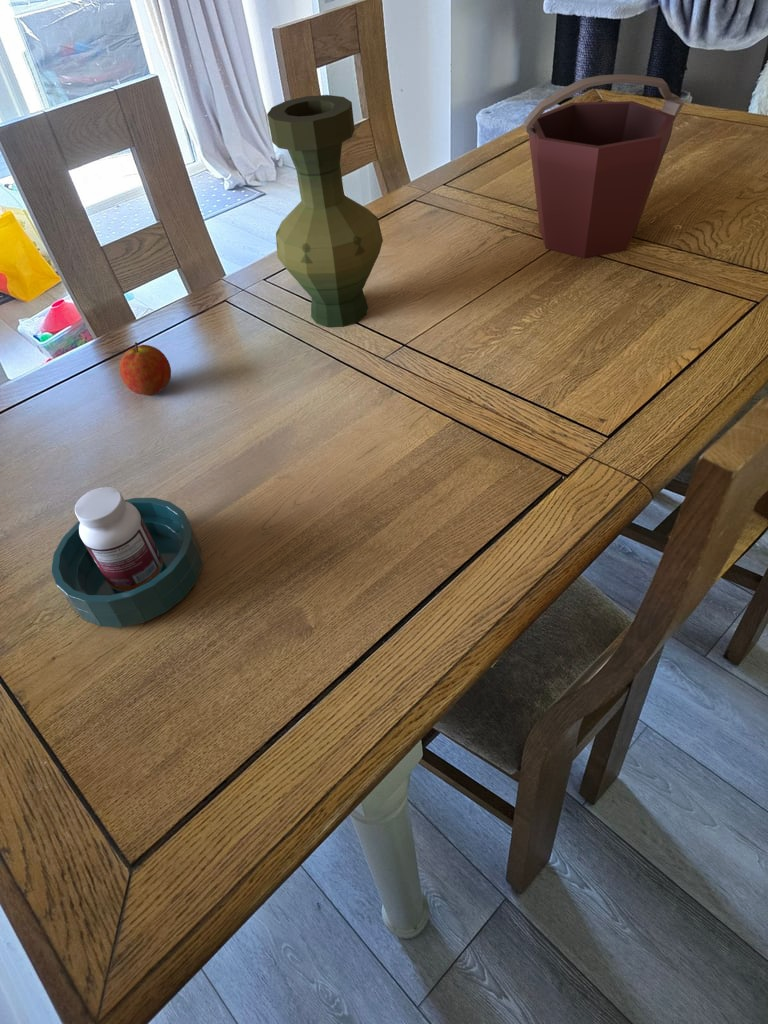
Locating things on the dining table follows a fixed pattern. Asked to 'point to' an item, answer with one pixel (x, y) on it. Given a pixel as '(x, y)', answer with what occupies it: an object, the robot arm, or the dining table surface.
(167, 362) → the fruit
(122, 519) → the pill bottle
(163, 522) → the bowl
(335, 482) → the dining table surface
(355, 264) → the vase
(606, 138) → the bucket
